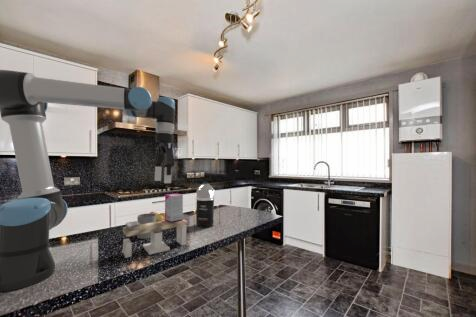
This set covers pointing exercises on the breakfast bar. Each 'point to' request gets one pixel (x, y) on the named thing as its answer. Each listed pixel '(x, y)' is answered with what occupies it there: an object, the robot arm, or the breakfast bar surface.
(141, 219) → the cup
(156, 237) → the beam stand
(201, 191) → the spray bottle
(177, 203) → the supplement box
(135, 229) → the beam
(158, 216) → the bread roll
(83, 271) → the breakfast bar surface
